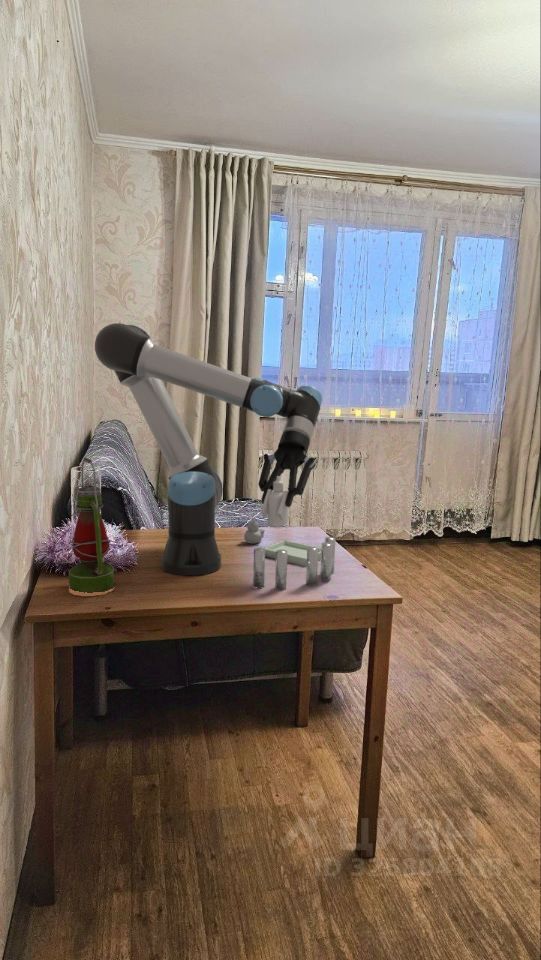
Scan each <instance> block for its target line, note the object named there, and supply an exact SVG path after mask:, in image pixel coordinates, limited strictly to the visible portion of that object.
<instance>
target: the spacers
mask: <svg viewBox="0 0 541 960" xmlns="http://www.w3.org/2000/svg"><path fill="white" fill-rule="evenodd" d="M317 547H318V546H315V547H308V548H307V566H306V570H305V571H306V574H305V576H306V577H305V585H306V586H307V587H316V586H317V585H318V569H319V568H318V567H319V565H318V564H319V563H318V548H317ZM263 548H264V547H263ZM263 548H262V547H255V548H254V549H253V568H252V569H253V573H252V574H253V579H252V587H253V586H254V587H257V588H256V589H262V588H261V587H263V588H265V568H266V566H265V565H266V564H265V561H266V557H265V549H263ZM321 548H322V549H321V560H320V571H319V572H320V574H319V575H320V577H319V579H320V581H322V582H331V581H332V575H333V574H334V573H335V559H336V558H335V555H336V537H334V536H326V537H324V542H322V543H321ZM287 571H288V562H287V550H277V551H276V559H275V576H274V577H275V580H274V581H275V582H274V583H275V584H274V585H275V586H274V589H275V588H276V589H275V590H277V589H278V590H277V591H285V590H287V574H288V572H287ZM254 587H253V588H254Z"/></svg>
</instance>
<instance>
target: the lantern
mask: <svg viewBox="0 0 541 960" xmlns="http://www.w3.org/2000/svg"><path fill="white" fill-rule="evenodd" d="M85 462H86V463H88V464H90V466H91V468H92V472H93V485H92V479H91V477H90V475H89V476H87V477H86V478H87V480H86V481H87V485H85V486H84V464H85ZM80 469H81V470H80V471H81V487H79V488H78V489H77V499H76V501H77V502H76V503H77V505H75V508H76V509H78V510H80V512H79V514H78V517H77V519H76V521H77V522H76V523H75V528H74V529H75V530H74V536H73V538H72V539H71V541H70V543H71V545H72V546H71V547H70V548H71V549H72V552H73V555H74V556H75V557H76V558H78V560H79V561H81V562H80V563H78V564H76V565H75V566H73V567H71V568H70V569H69V570H68V586H70V589H72V590H74V591H79V592H84V593H85V592H87V593H93V592H105V591H108V590H110V589H113V588H114V587H115V585H116V583H115V582H116V581H115V568H114V566H113V565H112V564H111V563H110V562H108V561H104V557H105V556H106V555H107V554H108V553H109V550H110V543H111V541H110V539H109V536H108V535H107V534H108V533H107V530H106V525H105V523H104V521H103V517H102V515H101V512H100V509H101V508H103V507H104V503H103V502H102V500H103V499H102V493H101V492H102V489H101V487H100V488H99V487H97V479H96V470H95V466H94V464H93V461H92V460H91V459H89V458H87V457H84V458H83V460H82V463H81V468H80Z"/></svg>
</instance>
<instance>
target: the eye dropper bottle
mask: <svg viewBox="0 0 541 960" xmlns="http://www.w3.org/2000/svg"><path fill="white" fill-rule="evenodd" d="M284 491H285V490H284V481H282V480H281V476H277V479H276V481H274V482H273V491H272V493H271V494H270V495H269V497H268V515H267V525H268V527H272V528H280V527H284V526H286V525H287V524H288V518H289V517H288V515H289V512H288V511H289V507H287V509H286V512H285V515H284V519H283V520H280V518H279V516H278V511H279V507H280V504H281V501H282V498H283V494H284Z"/></svg>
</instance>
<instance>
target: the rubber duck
mask: <svg viewBox="0 0 541 960" xmlns="http://www.w3.org/2000/svg"><path fill="white" fill-rule="evenodd" d="M259 527H260V525H259V523H258V521H256V519H254V517H253V516H252V517H251V519H250V521H249V522H248V524H247V526H246V528H247V529H246V531H245V533H244V536H243V540H244V541H246V542H247V544H252V545H253V544H254V545H255V544H257V543H260V542H261V541H262V539H263V538H264V535H265V531H266V530H265V529H263V528H259Z"/></svg>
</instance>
